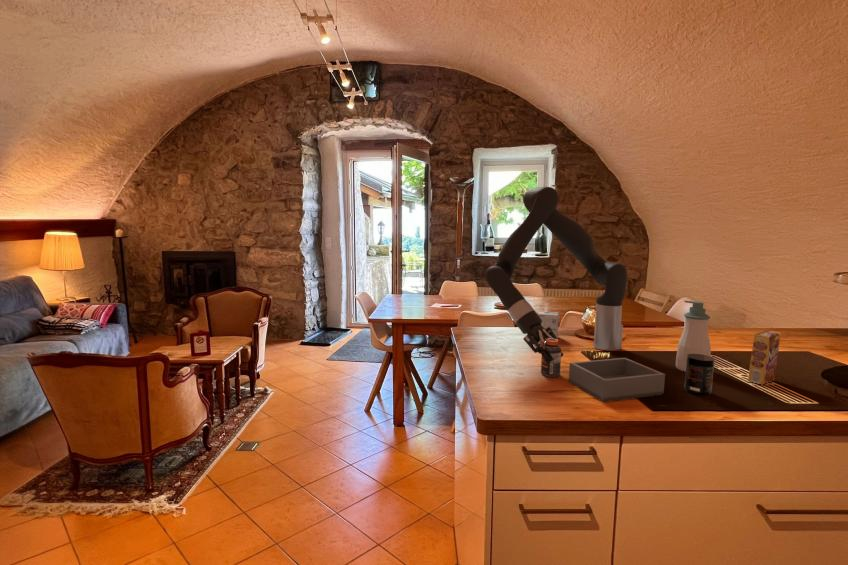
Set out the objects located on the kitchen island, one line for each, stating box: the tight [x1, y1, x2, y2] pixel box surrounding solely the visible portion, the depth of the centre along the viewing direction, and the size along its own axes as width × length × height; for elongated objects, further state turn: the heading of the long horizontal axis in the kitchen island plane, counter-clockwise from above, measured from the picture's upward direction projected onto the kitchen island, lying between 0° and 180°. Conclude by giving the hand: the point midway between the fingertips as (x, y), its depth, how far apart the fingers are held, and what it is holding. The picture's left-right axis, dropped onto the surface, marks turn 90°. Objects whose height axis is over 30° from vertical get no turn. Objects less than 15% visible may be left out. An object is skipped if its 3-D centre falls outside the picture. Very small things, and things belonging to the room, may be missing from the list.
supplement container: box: [683, 354, 716, 397], centre depth 127 cm, size 7×7×10 cm
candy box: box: [747, 330, 782, 386], centre depth 136 cm, size 9×4×15 cm, turn 123°
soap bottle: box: [675, 300, 712, 373], centre depth 146 cm, size 10×10×23 cm
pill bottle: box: [540, 338, 562, 378], centre depth 141 cm, size 6×6×11 cm
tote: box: [568, 357, 666, 403], centre depth 130 cm, size 20×16×6 cm
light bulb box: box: [535, 310, 560, 340], centre depth 188 cm, size 11×7×11 cm, turn 71°
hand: (556, 358), depth 140 cm, fingers closed on pill bottle, 6 cm apart
